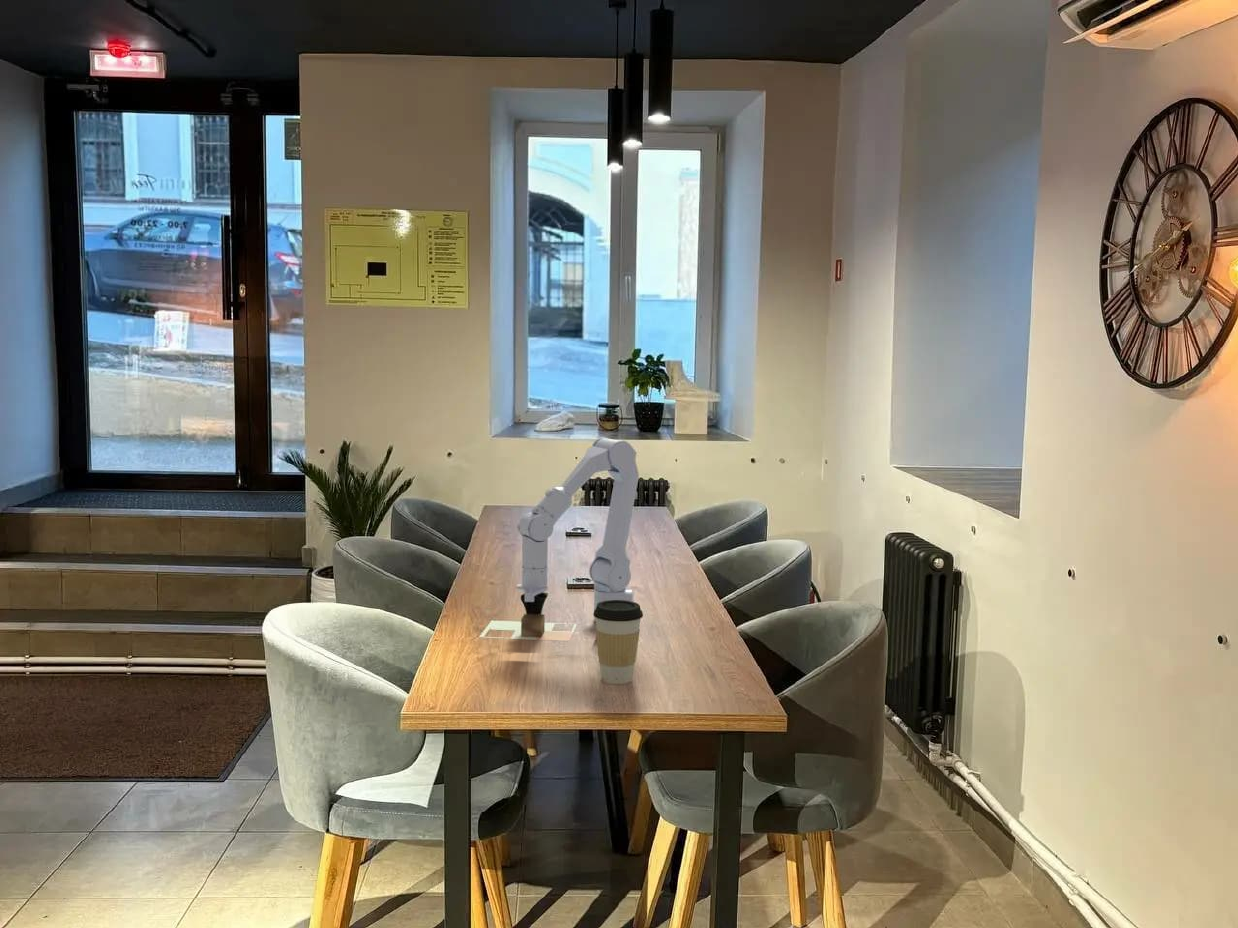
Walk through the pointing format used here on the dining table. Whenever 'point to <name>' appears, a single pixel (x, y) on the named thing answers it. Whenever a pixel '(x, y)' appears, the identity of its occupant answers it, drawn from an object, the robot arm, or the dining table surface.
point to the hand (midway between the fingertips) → (533, 625)
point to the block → (532, 625)
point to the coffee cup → (617, 639)
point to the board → (517, 635)
